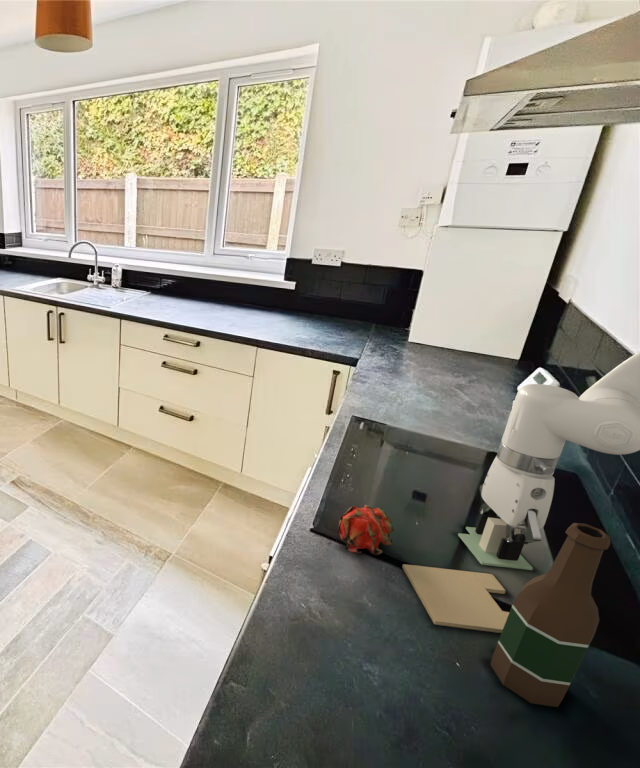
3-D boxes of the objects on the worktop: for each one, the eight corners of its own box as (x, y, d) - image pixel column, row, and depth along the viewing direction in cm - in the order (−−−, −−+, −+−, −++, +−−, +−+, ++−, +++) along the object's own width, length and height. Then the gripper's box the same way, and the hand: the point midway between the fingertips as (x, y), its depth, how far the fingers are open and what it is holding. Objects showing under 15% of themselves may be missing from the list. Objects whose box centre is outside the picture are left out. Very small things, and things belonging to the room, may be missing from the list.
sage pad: (531, 572, 79) (544, 539, 76) (480, 567, 80) (491, 534, 77) (495, 533, 88) (506, 503, 86) (450, 529, 89) (460, 498, 87)
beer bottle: (571, 724, 55) (652, 564, 47) (491, 690, 59) (553, 537, 50) (557, 673, 61) (626, 524, 53) (485, 645, 65) (539, 502, 57)
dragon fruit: (382, 542, 88) (345, 574, 82) (351, 503, 91) (313, 532, 86) (415, 528, 81) (377, 562, 75) (380, 487, 84) (341, 517, 79)
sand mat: (490, 579, 77) (492, 574, 77) (538, 640, 66) (541, 634, 65) (401, 569, 79) (402, 563, 79) (433, 627, 68) (435, 621, 67)
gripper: (592, 488, 67) (552, 584, 74) (518, 436, 83) (490, 519, 90) (535, 483, 69) (500, 578, 75) (473, 433, 85) (448, 515, 91)
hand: (495, 545), depth 82 cm, fingers open, 5 cm apart
